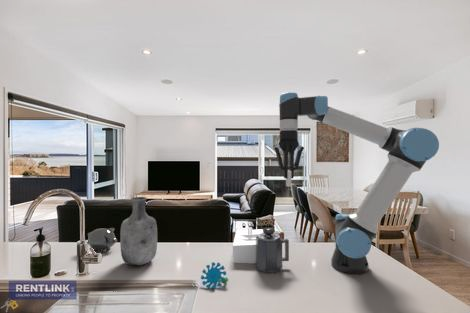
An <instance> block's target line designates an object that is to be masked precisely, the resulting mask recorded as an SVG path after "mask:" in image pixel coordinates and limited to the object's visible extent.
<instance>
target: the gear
mask: <svg viewBox="0 0 470 313" xmlns="http://www.w3.org/2000/svg"><path fill="white" fill-rule="evenodd" d="M205 267H206V269H207V270H206V269H202V270H201V273H203V274H204V275H205V276H204V275H201V276H200V279H201V280H202V282H201V284H202V286H205V287H206V288H207V289H208V290H209V289H210V288H211V289H212V290H216V284H217V287H218V288H219V287H220V288H221V286H222V284H224V285H225V284H228V282H229V278H228V277H227V276H226V275H227V271H225V269H226V268H225V266H224V265H221V263H220V262H217V263H215V262H214V261H213V262H211V266H210V264H206V266H205ZM218 267H219V268H218ZM221 270H223V271H221ZM222 275H223V276H226V277H223V276H222Z"/></svg>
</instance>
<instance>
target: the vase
mask: <svg viewBox="0 0 470 313" xmlns="http://www.w3.org/2000/svg"><path fill="white" fill-rule="evenodd" d="M146 201H147V197H145V196H137V197H135V196H134V197H131V199H130V202H131V204H132V212H131V214H130V215H129V217H127V218H126V219H124V220H123V221H122V223H121V225H120V233H119V234H120V235H119V237H120V239H119V241H120V242H119V243H120V253H121V254H120V256H121V258H122V261H123V262H124V263H125V264H127V265H131V266H142V265H145V264H148V263H149V262H151V261H152V260H154V258H155V256H156V255H157V250H158V225H157V220H156V218H154V217H153V216H150V215H148V213H147V212H146Z"/></svg>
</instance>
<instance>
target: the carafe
mask: <svg viewBox="0 0 470 313" xmlns="http://www.w3.org/2000/svg"><path fill="white" fill-rule="evenodd" d="M289 242H290V241H289V238H284V239H283V238H282V237H281V236H280V234H279V233H276V232H274V234H271V235H270V237H268V235H266V234H264V232H263V233H260V234H258V235H257V237H256V263H255V266H256V270H257V271H258V272H260V273H263V274H268V275H269V274H277V273H279V272H281V271H282V270H283V269H282V268H283V262H289V261H290V260H289V259H290V249H289V248H290V243H289ZM283 244H284V256H283Z"/></svg>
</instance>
